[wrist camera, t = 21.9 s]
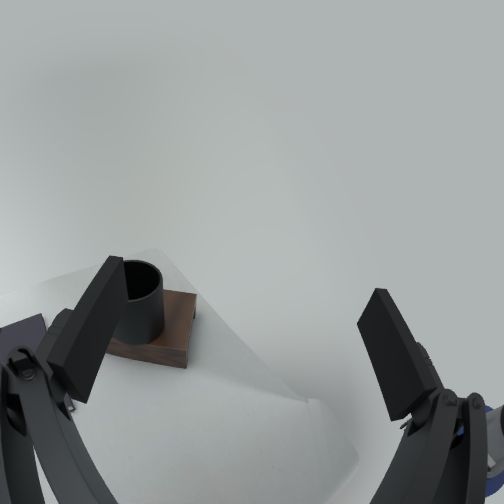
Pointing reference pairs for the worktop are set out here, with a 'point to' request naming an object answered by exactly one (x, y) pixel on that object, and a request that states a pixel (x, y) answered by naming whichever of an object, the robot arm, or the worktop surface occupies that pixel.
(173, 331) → the wooden stand
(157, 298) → the mug
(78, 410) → the worktop surface
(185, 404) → the worktop surface
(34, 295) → the worktop surface
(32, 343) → the notebook
